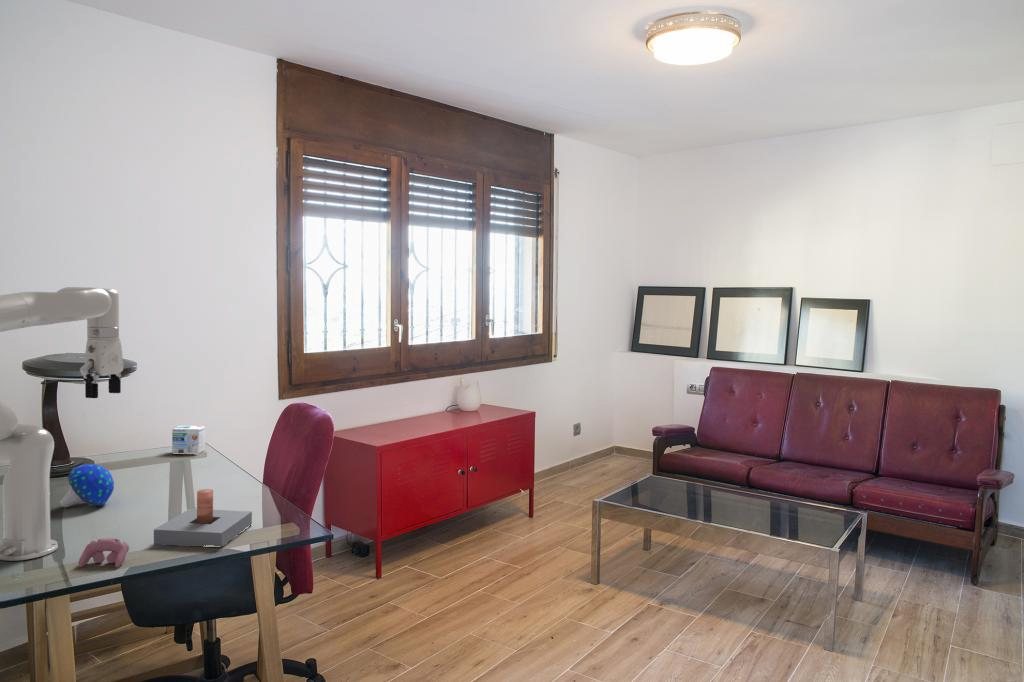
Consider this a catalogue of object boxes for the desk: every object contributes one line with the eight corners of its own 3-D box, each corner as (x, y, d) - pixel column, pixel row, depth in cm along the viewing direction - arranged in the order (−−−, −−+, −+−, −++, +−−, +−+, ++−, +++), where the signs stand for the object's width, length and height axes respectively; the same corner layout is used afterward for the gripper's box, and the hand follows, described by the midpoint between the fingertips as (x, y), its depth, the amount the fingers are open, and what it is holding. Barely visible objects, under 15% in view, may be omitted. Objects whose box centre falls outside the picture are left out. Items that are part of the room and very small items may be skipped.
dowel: (208, 537, 185) (208, 493, 185) (193, 536, 185) (194, 492, 185) (215, 532, 189) (215, 489, 189) (201, 531, 189) (201, 488, 189)
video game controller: (127, 569, 167) (133, 539, 170) (118, 567, 163) (125, 536, 165) (84, 568, 166) (91, 538, 169) (75, 567, 162) (82, 536, 165)
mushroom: (46, 478, 209) (92, 447, 213) (80, 508, 216) (124, 477, 220) (42, 500, 197) (91, 466, 201) (79, 531, 204) (125, 498, 208)
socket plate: (221, 548, 178) (221, 532, 178) (153, 544, 179) (153, 529, 179) (251, 525, 196) (251, 511, 196) (190, 522, 197) (190, 508, 197)
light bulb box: (171, 455, 276) (171, 428, 275) (178, 451, 283) (178, 425, 282) (199, 455, 277) (199, 428, 276) (205, 451, 284) (205, 425, 283)
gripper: (95, 335, 181) (96, 400, 182) (135, 332, 198) (135, 391, 199) (68, 334, 181) (68, 399, 182) (110, 331, 199) (110, 390, 200)
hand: (103, 395), depth 191 cm, fingers open, 9 cm apart
